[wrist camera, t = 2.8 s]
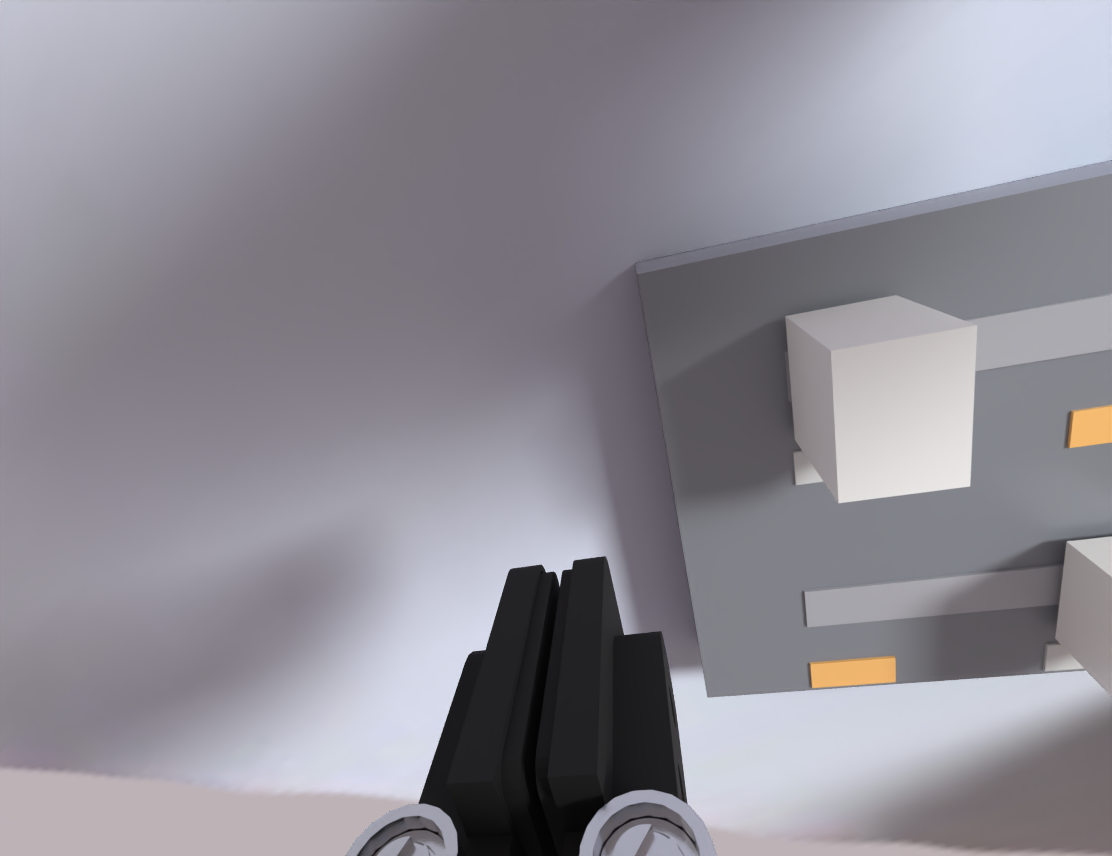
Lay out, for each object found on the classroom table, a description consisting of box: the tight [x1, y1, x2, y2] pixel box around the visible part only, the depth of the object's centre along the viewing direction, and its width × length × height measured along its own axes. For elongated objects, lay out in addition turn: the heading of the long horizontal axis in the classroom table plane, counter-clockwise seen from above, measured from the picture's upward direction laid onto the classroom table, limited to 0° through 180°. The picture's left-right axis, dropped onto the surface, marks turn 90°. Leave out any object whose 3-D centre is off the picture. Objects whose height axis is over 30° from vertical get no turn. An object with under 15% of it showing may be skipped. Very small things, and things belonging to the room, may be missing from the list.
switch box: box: [635, 160, 1112, 697], centre depth 19 cm, size 17×19×3 cm
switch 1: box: [785, 295, 977, 503], centre depth 15 cm, size 4×3×4 cm
